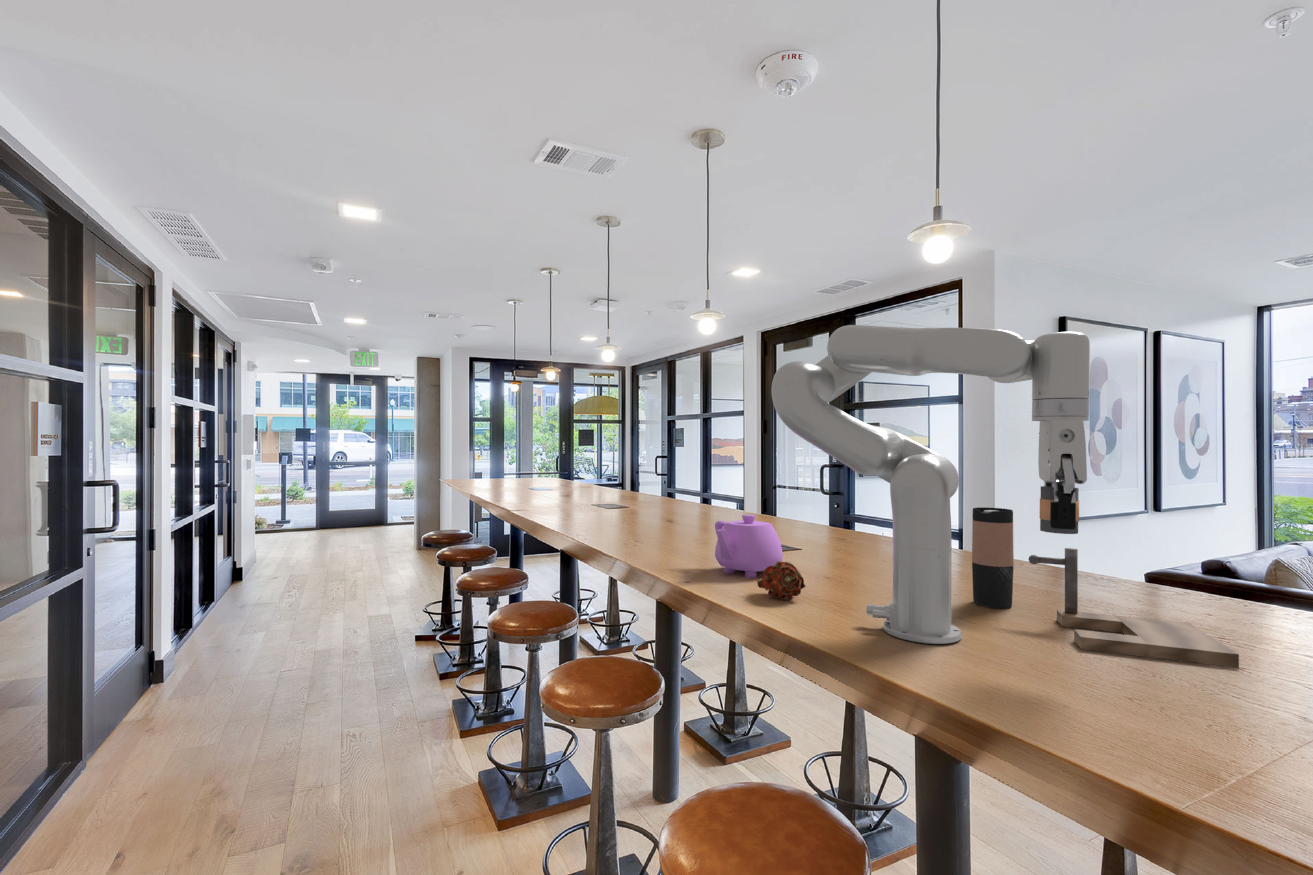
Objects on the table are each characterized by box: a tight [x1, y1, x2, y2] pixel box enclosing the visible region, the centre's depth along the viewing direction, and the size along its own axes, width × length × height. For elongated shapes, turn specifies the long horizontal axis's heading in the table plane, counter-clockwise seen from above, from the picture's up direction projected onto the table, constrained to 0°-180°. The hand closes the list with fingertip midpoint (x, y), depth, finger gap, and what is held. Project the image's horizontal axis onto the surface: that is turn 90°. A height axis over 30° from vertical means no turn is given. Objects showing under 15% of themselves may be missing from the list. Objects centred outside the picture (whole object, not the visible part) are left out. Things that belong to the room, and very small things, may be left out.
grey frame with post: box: [1028, 547, 1240, 669], centre depth 105 cm, size 25×18×14 cm
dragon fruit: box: [756, 561, 806, 601], centre depth 132 cm, size 8×8×12 cm
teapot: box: [714, 514, 784, 579], centre depth 157 cm, size 20×20×15 cm
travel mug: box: [971, 506, 1015, 610], centre depth 127 cm, size 8×8×20 cm
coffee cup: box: [1039, 485, 1080, 535], centre depth 96 cm, size 5×5×7 cm
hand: (1058, 525), depth 96 cm, fingers closed on coffee cup, 5 cm apart
